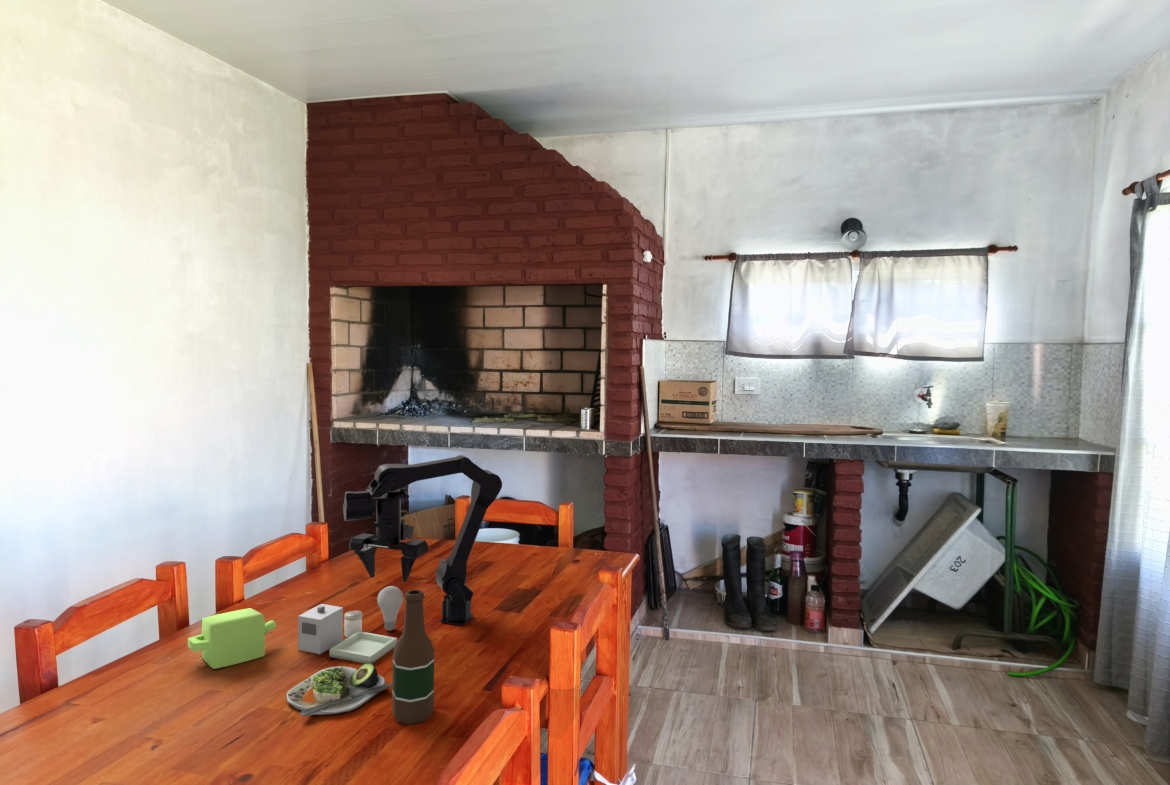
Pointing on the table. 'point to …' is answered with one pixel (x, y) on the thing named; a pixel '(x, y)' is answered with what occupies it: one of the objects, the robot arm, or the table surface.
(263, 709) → the table surface
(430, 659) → the beer bottle
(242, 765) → the table surface
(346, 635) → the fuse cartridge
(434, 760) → the table surface
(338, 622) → the box
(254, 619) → the gearbox
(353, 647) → the tray
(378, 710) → the table surface
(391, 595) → the lightbulb
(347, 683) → the salad plate
